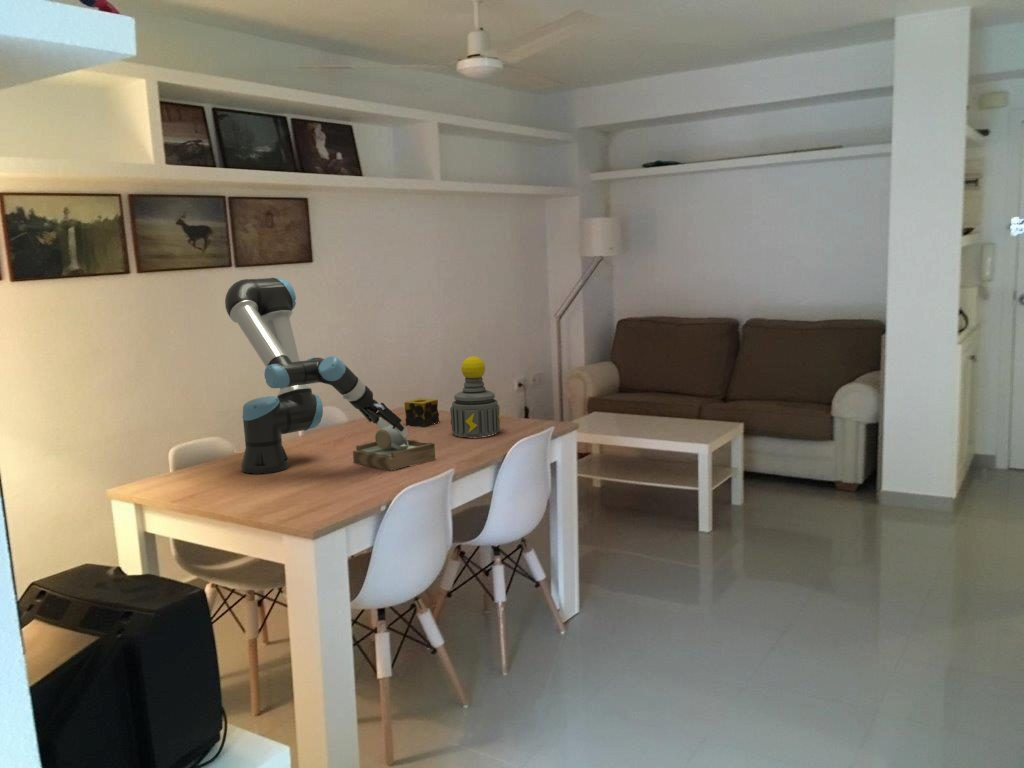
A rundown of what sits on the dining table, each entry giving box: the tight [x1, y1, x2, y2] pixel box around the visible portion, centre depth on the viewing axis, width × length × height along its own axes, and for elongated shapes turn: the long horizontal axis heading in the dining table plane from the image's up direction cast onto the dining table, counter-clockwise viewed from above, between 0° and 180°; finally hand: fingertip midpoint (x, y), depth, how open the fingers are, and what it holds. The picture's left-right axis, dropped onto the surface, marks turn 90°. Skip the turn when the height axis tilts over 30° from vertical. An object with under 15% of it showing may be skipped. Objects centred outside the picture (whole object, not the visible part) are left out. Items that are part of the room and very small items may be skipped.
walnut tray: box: [352, 437, 436, 472], centre depth 284 cm, size 20×19×6 cm
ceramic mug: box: [374, 424, 408, 450], centre depth 281 cm, size 11×8×8 cm
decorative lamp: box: [449, 355, 501, 438], centre depth 322 cm, size 19×19×30 cm
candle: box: [404, 398, 440, 428], centre depth 346 cm, size 10×10×10 cm
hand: (398, 433), depth 285 cm, fingers closed on ceramic mug, 8 cm apart
